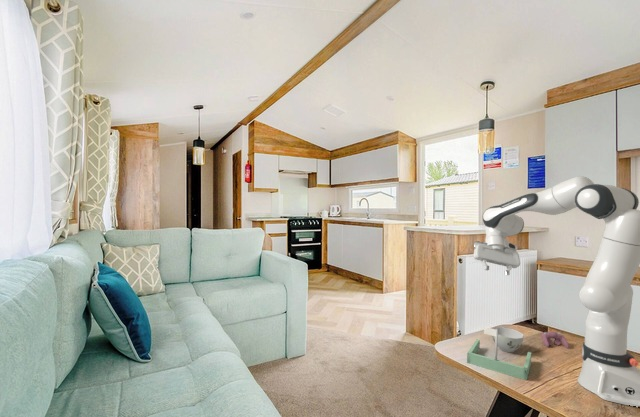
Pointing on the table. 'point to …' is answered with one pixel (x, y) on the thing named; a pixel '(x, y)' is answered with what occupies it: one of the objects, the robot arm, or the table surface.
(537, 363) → the table surface
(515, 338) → the teacup
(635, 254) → the robot arm
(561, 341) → the video game controller
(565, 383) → the table surface
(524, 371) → the corral
